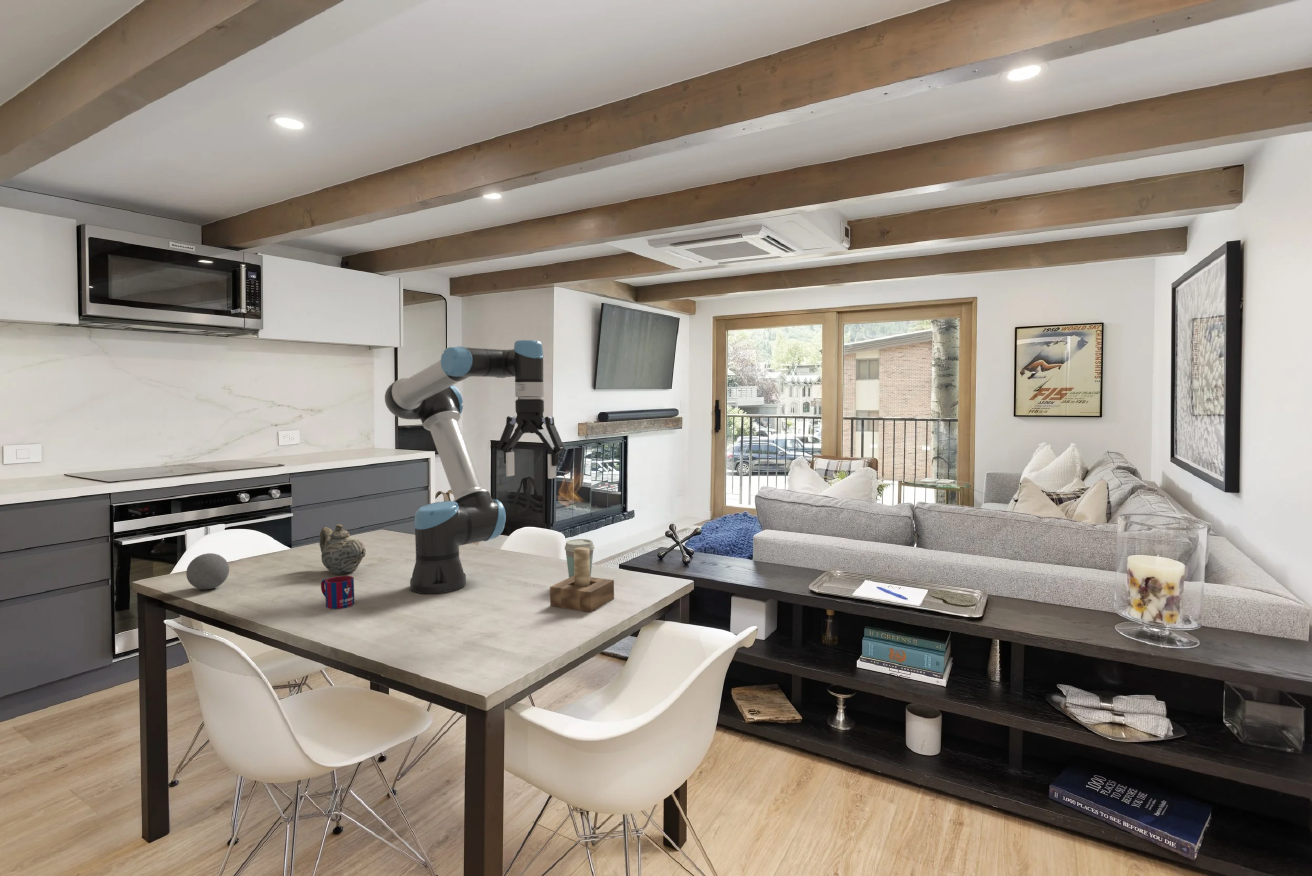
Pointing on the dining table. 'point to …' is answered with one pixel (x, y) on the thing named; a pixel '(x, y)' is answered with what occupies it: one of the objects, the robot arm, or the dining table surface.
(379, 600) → the dining table surface
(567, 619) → the dining table surface
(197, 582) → the decorative ball
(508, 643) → the dining table surface
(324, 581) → the cup
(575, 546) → the coffee cup
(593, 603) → the socket
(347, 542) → the teapot
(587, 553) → the peg
